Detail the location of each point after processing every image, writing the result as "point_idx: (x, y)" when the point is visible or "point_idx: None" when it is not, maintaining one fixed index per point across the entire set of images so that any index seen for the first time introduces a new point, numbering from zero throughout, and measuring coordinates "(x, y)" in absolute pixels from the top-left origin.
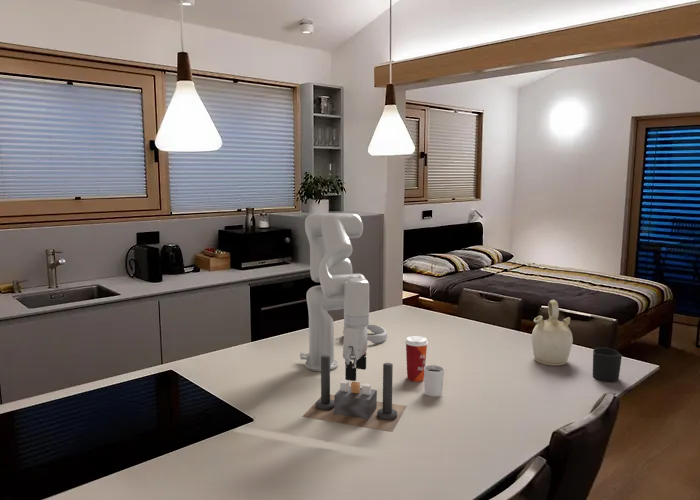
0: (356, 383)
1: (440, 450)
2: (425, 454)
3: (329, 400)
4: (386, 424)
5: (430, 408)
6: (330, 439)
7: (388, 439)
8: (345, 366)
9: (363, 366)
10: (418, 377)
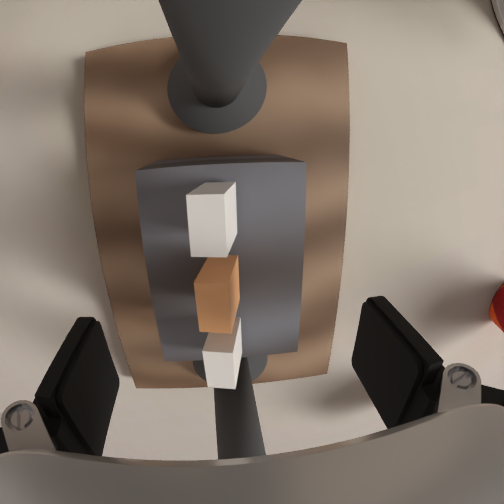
0: (214, 316)
1: (145, 451)
2: (113, 435)
3: (215, 106)
4: (168, 366)
5: (347, 399)
6: (26, 222)
7: (119, 371)
8: (6, 412)
9: (363, 368)
10: (495, 320)
